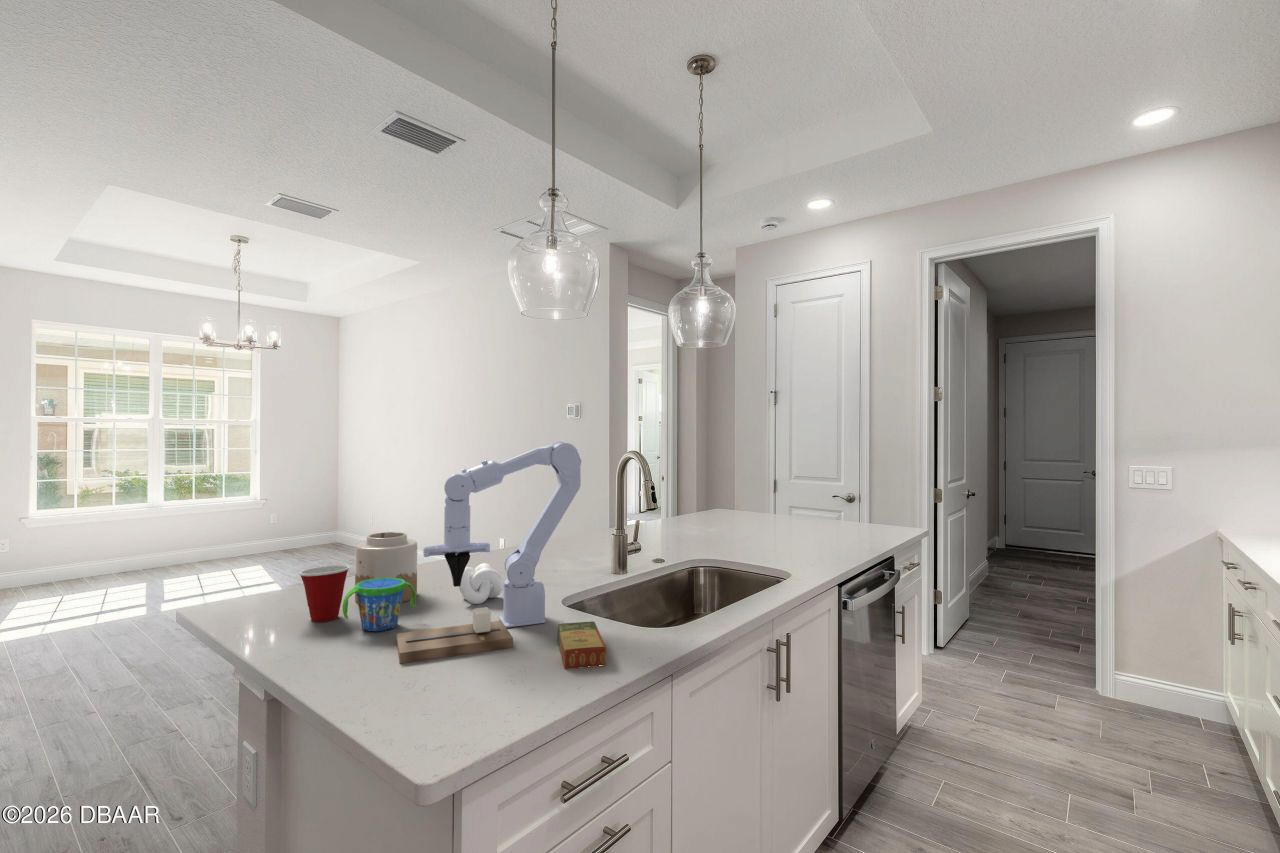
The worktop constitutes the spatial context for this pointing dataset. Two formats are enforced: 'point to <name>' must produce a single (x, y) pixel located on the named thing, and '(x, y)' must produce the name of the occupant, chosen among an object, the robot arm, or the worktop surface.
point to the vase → (387, 560)
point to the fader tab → (481, 619)
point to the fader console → (451, 642)
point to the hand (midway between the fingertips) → (456, 585)
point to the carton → (581, 645)
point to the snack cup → (379, 602)
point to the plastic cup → (324, 591)
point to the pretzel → (480, 583)
